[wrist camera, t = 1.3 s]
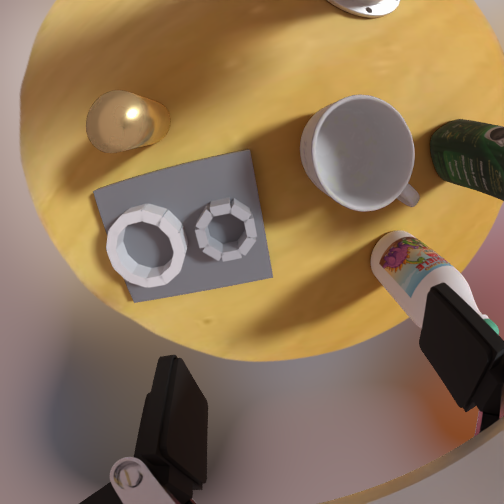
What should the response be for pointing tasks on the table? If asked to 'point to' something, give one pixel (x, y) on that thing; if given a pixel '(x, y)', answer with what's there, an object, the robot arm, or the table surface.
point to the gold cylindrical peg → (126, 121)
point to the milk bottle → (416, 274)
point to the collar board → (186, 227)
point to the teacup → (360, 153)
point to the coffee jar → (470, 155)
